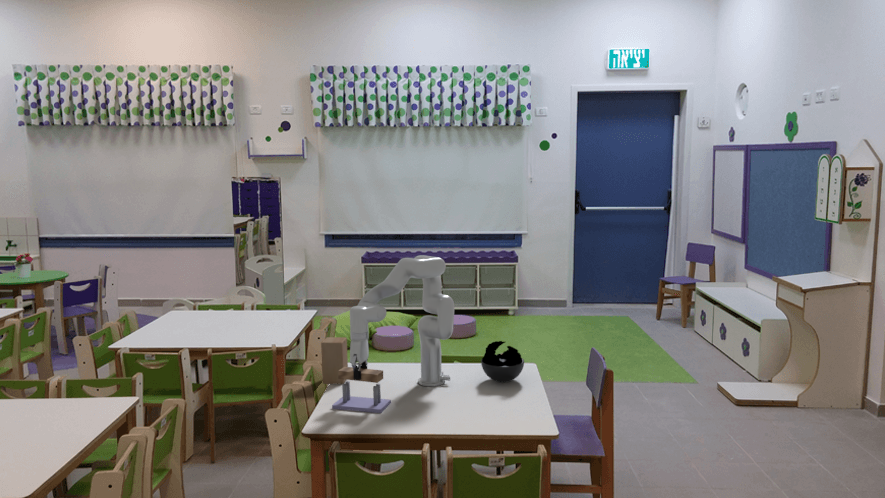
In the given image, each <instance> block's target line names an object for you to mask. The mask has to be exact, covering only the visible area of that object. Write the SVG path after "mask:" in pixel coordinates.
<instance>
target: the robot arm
mask: <svg viewBox="0 0 885 498" xmlns="http://www.w3.org/2000/svg"><path fill="white" fill-rule="evenodd" d="M446 268H447V265H446V262H445V260H444V259H443V258H441V257H438V256H430V255H423V254H422V255H421V254H420V255H417V256H414V258H413V257H412V258H411V257H402V258H401V259H400V260H399V261H398V262H397V263H396V265H395V266H394V267H393V268H392V270H391V271H390V272H389V274H388V275H387V276H386V278H385V279H384V280H383V281H382V282H379V283H378V284H377V285H375V286H373V287H372V288H371V289H369V290H368V291H367V292H366V293H365V294H364V295H363V297H361V299H360V300H359V302H358V304H357V305H354V306H352V307H351V308H349V327H350V329H349V330H350V333H349V334H350V336H349V337H350V344H349V345H350V346H349V364H350V365H351V367H353V374H354V380H353V381H355V380H361V370H360V368H363V369H368V364H369V363H368V359H369V354H370V353H369V352H370V351H369V323H378V322H379V323H380V322H381V321H383V320H384V319H385V318H386V316H387V309H386V307H385V306H384V305H382V304H379V302H380V301H381V300H383V299H386V298H389V297H392V296H396V295H398V294H400V293H401V291H402V290H403V289H404V287H405V286H406V285H407V283H408V282H409V281H410V279H411V278H413V279H419V280H420V279H421V280H422V283H423V284H422V299H421V300H422V301H421V302H422V310H424V311H425V312H426V313H430V314H433V315H423V316H422V317H421V318H420V319H419V320H418V323H417V331H418V335H419V336H418V337H419V342H420V376H421V377H419V378H418V379H417V384H419V385H420V386H424V387H438V386H441V385H444V384H445V383H446V381H449V382H450V381H451V376H450V375H449V374H444V371H442V343H441V340H442V341H443V340H445V341H446V340H448V339H450V337H452V334H453V332H454V322H455V321H454V320H455V302H454V300H453V298H452V297H451V296H450V295H447V294H443V293H442V286H443V285H442V279H441V278H442V277H441V275H443V274H444V273H445V271H446ZM435 315H437V316H435Z"/></svg>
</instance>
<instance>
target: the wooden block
mask: <svg viewBox="0 0 885 498" xmlns="http://www.w3.org/2000/svg"><path fill="white" fill-rule="evenodd" d="M320 348H321V375H322V384H323V385H342V384H345V382H346V381H347V380H346V379H338V371H339V370H340V369H342V368H343V367H349V362H348V338H347V337H342V336H341V337H338V336H337V337H335V336H332V337H330V336H326V337H325V339H323V340H322V342H321V343H320Z"/></svg>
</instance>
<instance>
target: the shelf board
mask: <svg viewBox="0 0 885 498" xmlns="http://www.w3.org/2000/svg"><path fill="white" fill-rule="evenodd" d="M360 370H361V380H354V374H353V367H352V366H348V367H343V368H342V369H340V370H339V371H338V379H346V381H355V382H366V383H373V384H379V383H380V382H381V381H382V380H384V370H380V369H373V368H367V369H363V368H360Z"/></svg>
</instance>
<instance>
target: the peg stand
mask: <svg viewBox="0 0 885 498" xmlns="http://www.w3.org/2000/svg"><path fill="white" fill-rule="evenodd" d="M350 382H351V381H350V380H346V381H345V382H344V384H341V385H342V387H341V388H342V396H341V397H340V398H339V399H338V400H337V401H335V402H334V403H333V404H332V405H331V407H332V410H343V411H355V412H364V413H365V412H367V413H375V414H376V413H377V414H382V413H383V412H384V411H385V410H386V409H387V408H388V407H389V406H390V405H391V404H392V399H388V398H387V399H386V398H381V397H382V396H381V395H382V394H381V383H375V385H374V386H373V387H372V390H373V392H372V393H373V394H372V395H373V397H364V396H352V395H351V385H350Z"/></svg>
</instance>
